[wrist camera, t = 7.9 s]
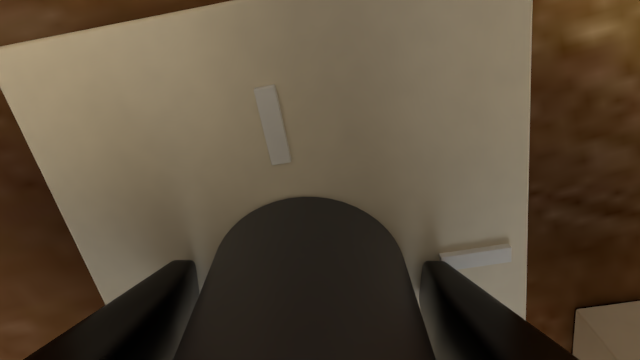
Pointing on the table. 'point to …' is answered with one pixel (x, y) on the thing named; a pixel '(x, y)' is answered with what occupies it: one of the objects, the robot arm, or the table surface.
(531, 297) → the table surface
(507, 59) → the dial panel
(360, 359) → the timer dial
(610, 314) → the button block
